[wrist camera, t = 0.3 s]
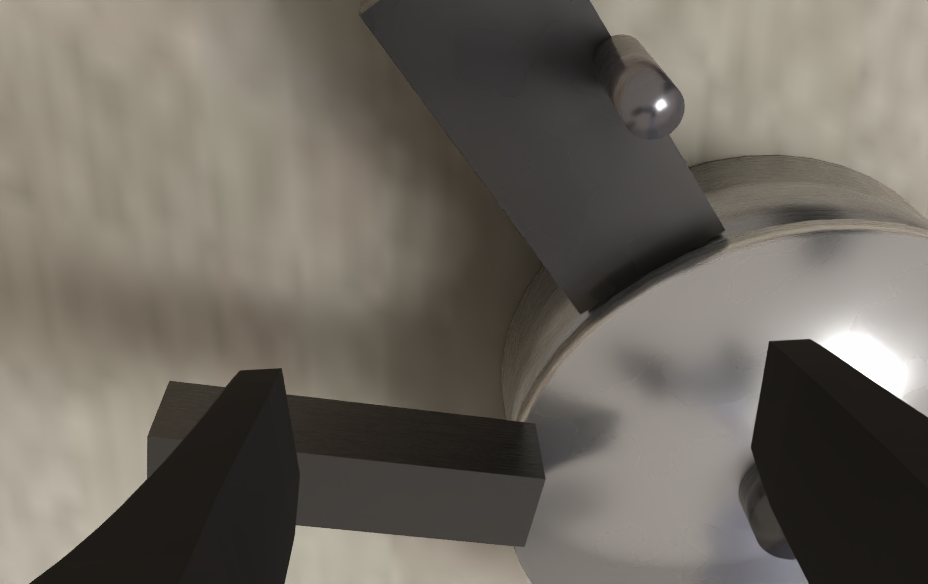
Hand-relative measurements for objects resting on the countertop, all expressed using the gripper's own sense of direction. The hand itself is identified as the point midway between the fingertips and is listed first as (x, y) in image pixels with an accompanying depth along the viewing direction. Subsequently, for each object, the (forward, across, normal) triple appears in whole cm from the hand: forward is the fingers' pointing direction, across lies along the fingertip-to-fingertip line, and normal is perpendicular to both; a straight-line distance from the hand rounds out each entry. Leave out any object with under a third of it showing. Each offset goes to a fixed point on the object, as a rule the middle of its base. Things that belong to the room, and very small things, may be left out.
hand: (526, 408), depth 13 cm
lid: (+6, -3, +6) cm, 9 cm away
